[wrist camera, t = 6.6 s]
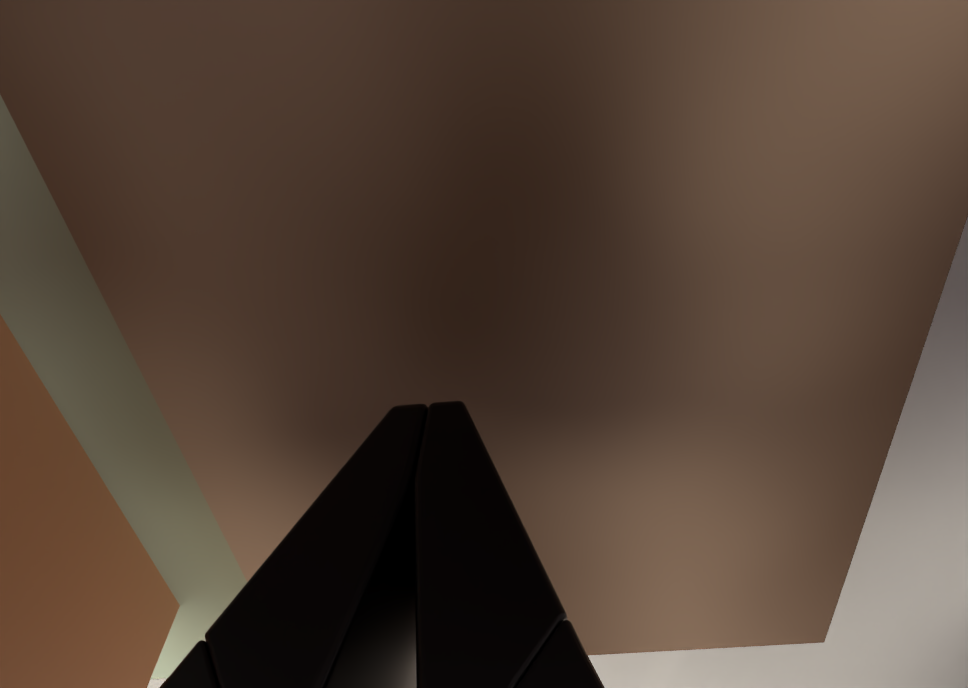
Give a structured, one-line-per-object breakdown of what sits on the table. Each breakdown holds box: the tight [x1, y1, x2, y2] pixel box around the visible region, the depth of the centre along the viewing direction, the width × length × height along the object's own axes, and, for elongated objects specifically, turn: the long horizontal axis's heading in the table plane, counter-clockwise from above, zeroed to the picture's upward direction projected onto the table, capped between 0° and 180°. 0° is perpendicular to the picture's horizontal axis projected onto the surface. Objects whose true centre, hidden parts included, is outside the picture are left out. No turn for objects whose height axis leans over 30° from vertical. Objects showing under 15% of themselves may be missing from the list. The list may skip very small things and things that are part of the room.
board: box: [0, 0, 968, 679], centre depth 8 cm, size 22×14×4 cm, turn 96°
